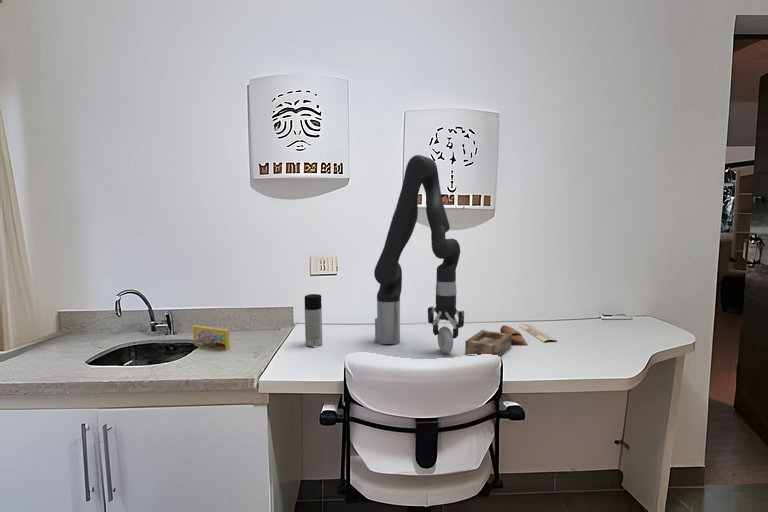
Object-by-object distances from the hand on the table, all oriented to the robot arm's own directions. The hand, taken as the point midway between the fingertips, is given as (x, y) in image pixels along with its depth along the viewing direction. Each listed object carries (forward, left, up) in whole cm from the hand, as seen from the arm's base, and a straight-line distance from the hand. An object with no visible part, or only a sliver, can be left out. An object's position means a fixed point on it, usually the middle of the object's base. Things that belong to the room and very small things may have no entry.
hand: (445, 336), depth 167 cm
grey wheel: (0, 0, -7) cm, 7 cm away
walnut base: (+13, +11, -6) cm, 18 cm away
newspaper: (+23, +43, -7) cm, 49 cm away
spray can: (-48, -19, -7) cm, 52 cm away
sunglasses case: (+17, +31, -7) cm, 36 cm away
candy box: (-80, -43, -7) cm, 91 cm away
